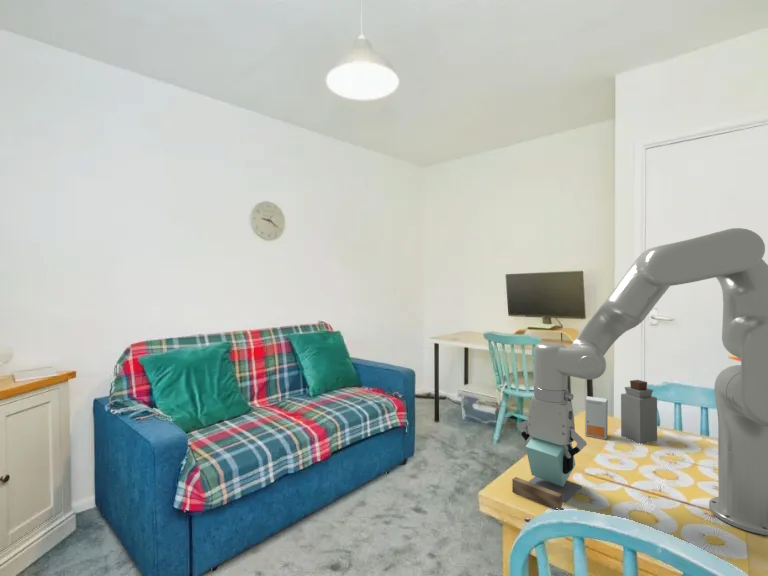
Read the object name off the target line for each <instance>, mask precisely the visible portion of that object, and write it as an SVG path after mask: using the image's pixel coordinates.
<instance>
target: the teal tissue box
mask: <svg viewBox="0 0 768 576" xmlns="http://www.w3.org/2000/svg"><path fill="white" fill-rule="evenodd" d="M570 439H571V437H570ZM570 439H569V441H570ZM570 443H571V445H572V446H573V444H572V443H573V442H570ZM563 450H564V447H563V446H559V445H556V444H552V443H549V442H546V441H543V440H539V439H536V438H533V437H532V438H531V439H530V441H529V442H528V444H526V445H525V451H526V456H527V460H528V464H529V469H530V473H531V476H533V477H535V476H536V477H538V478H541V479H544V480H546V481H549V482H551V483H554V484H557V485H559V486H562V487H563V486H564V484H565V483H566V481H568V479H569V477H570V475H571V473H572V472H573V470H574V468H575V467H576V460H575V455H574V456H573V469H572V470H571V471H570V472H569V473H567V474H564V473H563V457H564V456H565V454H564V452H563Z"/></svg>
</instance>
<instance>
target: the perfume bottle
mask: <svg viewBox="0 0 768 576" xmlns="http://www.w3.org/2000/svg"><path fill="white" fill-rule="evenodd" d="M629 383H630V386H624V389H625V391H624V392H625V393H620V408H621V409H620V434H621V435H620V436H621V437H623V438H625V437H626V438H625V439H627V438H628V439H627V440H630V441H632V440H633V441H632V442H634V441H635V443H637V444H639V443H640V444H639V445H641V443H643V444H647V442H649V443H654V442H653V441H655V442H658V397H656V396H653V392H654V389H651V388H647V387H648V382H647V381H644V380H640V379H633V380H629Z"/></svg>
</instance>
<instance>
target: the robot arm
mask: <svg viewBox="0 0 768 576" xmlns="http://www.w3.org/2000/svg"><path fill="white" fill-rule="evenodd" d="M765 252H766V245H765V241H764V240H763V238H762V237H761V236H760V235H759V234H758V233H756V232H755V231H752V230H750V229H747V228H741V227H734V228H733V227H732V228H729V229H724V230H721V231H717V232H713V233H710V234H705V235H701V236H697V237H694V238H690V239H685V240H682V241H677V242H672V243H667V244H662V245H661V244H660V245H658V246H654V247H652V248H648V249H646V250H645V251H643V252H642V253H640V255H639V256H638V257H636V259H635V261H634V262H633V263H632V264H631V266H630V267H629V269H628V270H626V272H625V274H624V276H623V277H622V278H621V280H620V281H619V282H618V284H617V285H616V286H615V288H613V290H612V292H611V293H610V294H609V296H608V297H607V299H605V300H604V302H603V303H602V304H601V306H599V308H598V309H597V311H596V312H595V313H594V315H593V316H592V317H591V318H590V319H589V320H588V322H587V323H586V324H585V326H583V328H582V329H581V331H580V332H579V334H578V335H577V336H576V337H575V339H574V340H573V342H572V343H571V344H570V346H569V347H568V346H566V345H564V344H561V343H558V342H547V341H546V342H539V343H537V344H536V345H535V347H534V365H533V366H534V370H533V375H534V376H533V396H531V399H530V402H529V406H528V407H529V408H528V414H527V419H526V420H524V421H521V422H520V423H518V424H517V425H516V426H517V429H518V430H519V432H520V433H521V434H520V435H521V437H522V438H523V439H524V441H525V444H526V445H527V444H528V442H529V441H530V439H531V438H532V437H533V438H536V439H539V440H543V441H546V442H549V443H552V444H556V445H559V446H563V447H564V450H563V452H564V454H565V456H564V457H563V473H564V474H567V473H569V472H570V471H571V470H572V469H573V470H574V468H573V456H574V457H575V455H576V454H579V452H581V451H582V450H583V449H584V448H585V447H586V446H587V444H588V443H587V441H586V440H585V439H583V437H582V436H581V435H579V433H578V432H576V430H575V428H576V427H575V426H576V425H575V414H574V410H573V405H572V402H571V401H572V400H574V397H575V396H574V394H573V393H571V392H569V388H568V386H569V385H568V384H569V383H568V381H569V380H568V379H569V378H568V377H573V378H577V379H581V380H596V379H598V378H600V377H601V376H603V375H604V374H605V372H606V368H607V361H606V360H607V359H606V358H605V354H607V352H608V351H609V349H610V348H611V347H612V345H613V344H614V343H615V342H616V341H617V340H618V339H619V338H620V337H621V336H622V335H623V334H624V333H626V332H628V331H630V330H631V329H634V328H636V327H637V326H639V325H640V324H641V323H642V322H643V321H644V320H645V319H646V317H647V316H648V315H649V314H650V312H651V311H652V310H653V308H654V307H655V306H656V305H657V303H658V302H659V301H660V299H661V298H662V297H663V295H664V294H665V293H666V292H667V291H668V289H669V288H670V287H673V286H679V285H684V284H690V283H695V282H700V281H705V280H709V279H716V280H718V283H719V284H720V287H721V292H722V309H723V310H722V328H721V341H722V345H723V347H724V349H726V351H727V352H728V353H730V354H731V355H733V357H734V356H735V357H736V358H739V359H740V364H735V365H731V366H728V367H726V368H724V369H722V370H721V371H720V372H719V374H718V375H717V376H716V379H715V381H714V390H713V391H714V398H715V404H716V411H717V412H716V413H717V424H718V428H717V430H718V431H717V434H718V437H717V439H718V440H717V441H718V444H717V445H718V446H717V449H718V451H717V452H718V457H717V458H718V459H717V460H718V461H717V462H718V465H717V466H718V469H717V470H718V474H717V475H718V476H717V477H718V481H717V483H718V486H717V487H718V489H717V490H718V491H717V492H718V494H717V495H718V496H716V497H713V498H711V499H710V500H708V501H709V502H708V507H709V510H710V512H711V513H712V514H713V515H714V516H716V517H717V518H718V519H720V520H721V521H722V522H725V523H726V524H729V525H731V526H734V527H735V528H737V529H740V530H744V531H747V532H750V533H754V534H758V535H762V536H768V264H767V263H766V262H765V260H763V258H764V256H765V255H764V254H765ZM569 400H571V401H569ZM570 437H571V439H570ZM569 439H570V441H569ZM570 442H571V443H573V442H575V443H576V445H575V446H574V447H573V444H572V445H571V443H570ZM573 470H572V471H573Z"/></svg>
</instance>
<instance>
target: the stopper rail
mask: <svg viewBox="0 0 768 576" xmlns="http://www.w3.org/2000/svg"><path fill="white" fill-rule="evenodd" d="M511 481H512V483H511V486H512V488H511V489H512V492H513V493H514V494H516V495H520V496H523V497H525V498H527V499H530V500H531V501H534V502H537V503H539V504H542V505H544V506H546V507H549V508H551V507H554V508H558V509H560V510H561V509H562V508H563V502H562V494H560V493H557V492H555V491H552V490H549V489H547V488H544V487H541V486H539V485H536V484H533V483H531V482H528V481H529V480H525V479H523V478H519V477H517V476H515V477H513V478H512V480H511ZM561 507H562V508H561ZM554 508H553V509H554Z"/></svg>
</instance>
